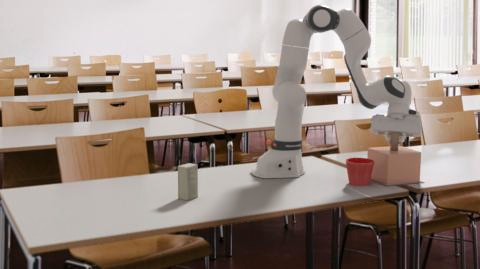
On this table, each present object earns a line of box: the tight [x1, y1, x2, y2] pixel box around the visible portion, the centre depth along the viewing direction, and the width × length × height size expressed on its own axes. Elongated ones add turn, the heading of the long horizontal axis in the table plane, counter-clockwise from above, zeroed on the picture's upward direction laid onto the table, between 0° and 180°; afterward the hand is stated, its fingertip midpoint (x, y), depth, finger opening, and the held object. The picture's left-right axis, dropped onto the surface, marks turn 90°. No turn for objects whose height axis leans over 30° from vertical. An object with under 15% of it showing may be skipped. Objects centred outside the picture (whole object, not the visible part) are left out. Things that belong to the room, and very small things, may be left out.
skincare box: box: [177, 162, 199, 201], centre depth 244 cm, size 6×4×12 cm
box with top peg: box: [367, 132, 422, 185], centre depth 271 cm, size 15×15×19 cm
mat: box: [370, 179, 425, 188], centre depth 273 cm, size 18×18×1 cm
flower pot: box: [345, 157, 374, 187], centre depth 265 cm, size 11×11×10 cm
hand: (394, 143), depth 270 cm, fingers closed on box with top peg, 3 cm apart
